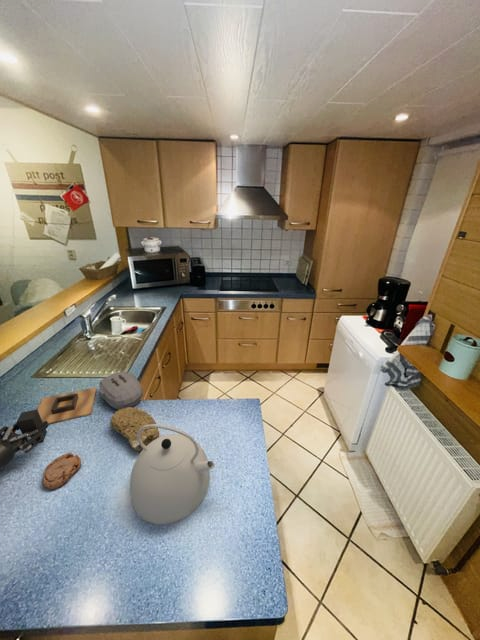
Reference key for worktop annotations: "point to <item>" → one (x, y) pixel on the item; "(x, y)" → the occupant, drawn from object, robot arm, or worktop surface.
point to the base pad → (67, 406)
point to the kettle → (169, 477)
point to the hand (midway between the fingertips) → (36, 421)
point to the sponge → (134, 426)
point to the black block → (30, 423)
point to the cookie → (60, 470)
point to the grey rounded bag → (121, 390)
